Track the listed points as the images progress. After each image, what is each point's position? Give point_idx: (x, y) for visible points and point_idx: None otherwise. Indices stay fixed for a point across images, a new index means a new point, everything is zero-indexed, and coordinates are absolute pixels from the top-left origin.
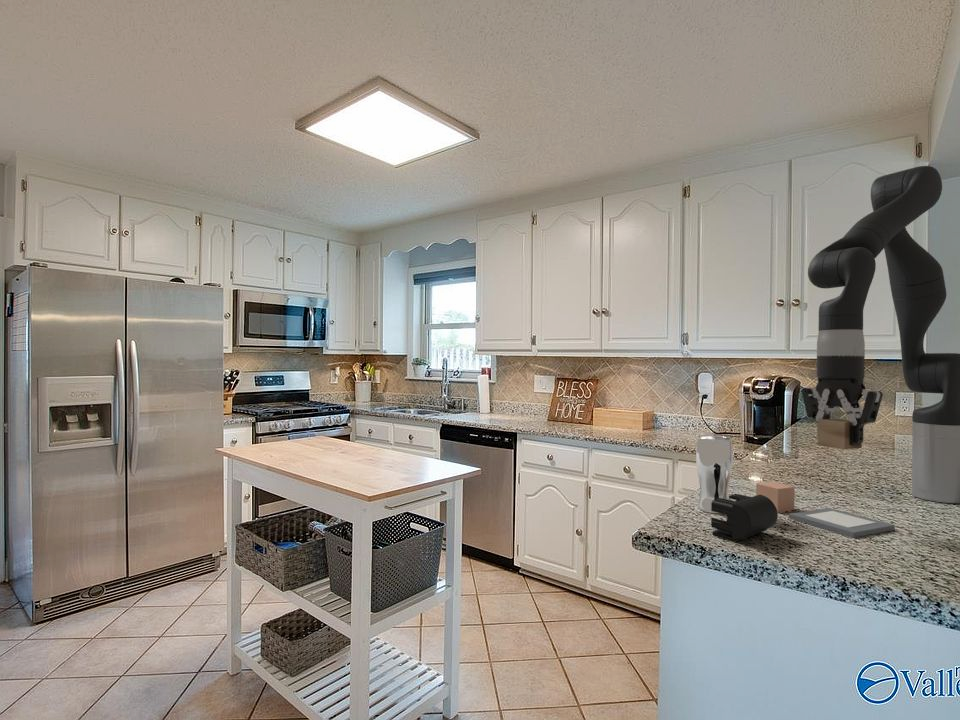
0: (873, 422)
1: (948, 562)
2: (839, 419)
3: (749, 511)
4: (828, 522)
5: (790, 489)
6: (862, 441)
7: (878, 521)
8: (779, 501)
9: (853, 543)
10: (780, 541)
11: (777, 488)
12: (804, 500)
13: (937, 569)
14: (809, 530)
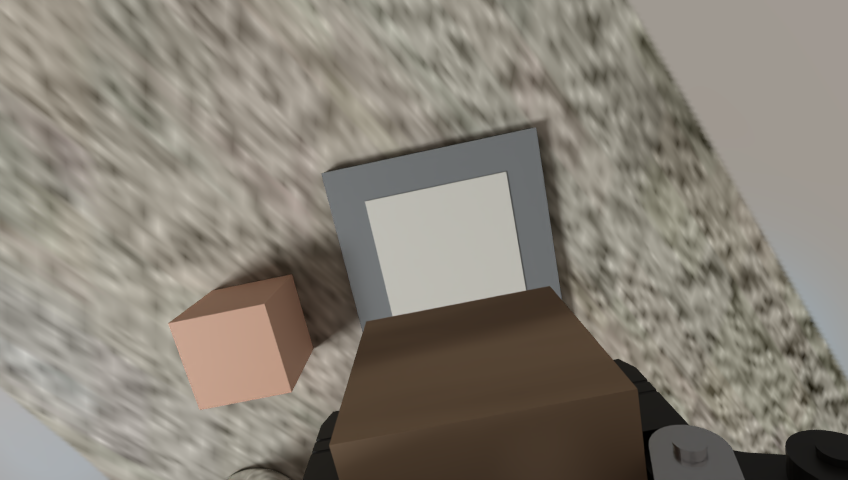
0: (824, 435)
1: (765, 249)
2: (422, 470)
3: None
4: None
5: (273, 322)
6: (627, 367)
7: (494, 147)
8: (301, 359)
9: None
10: None
11: (284, 388)
12: (163, 126)
13: (784, 321)
14: None
